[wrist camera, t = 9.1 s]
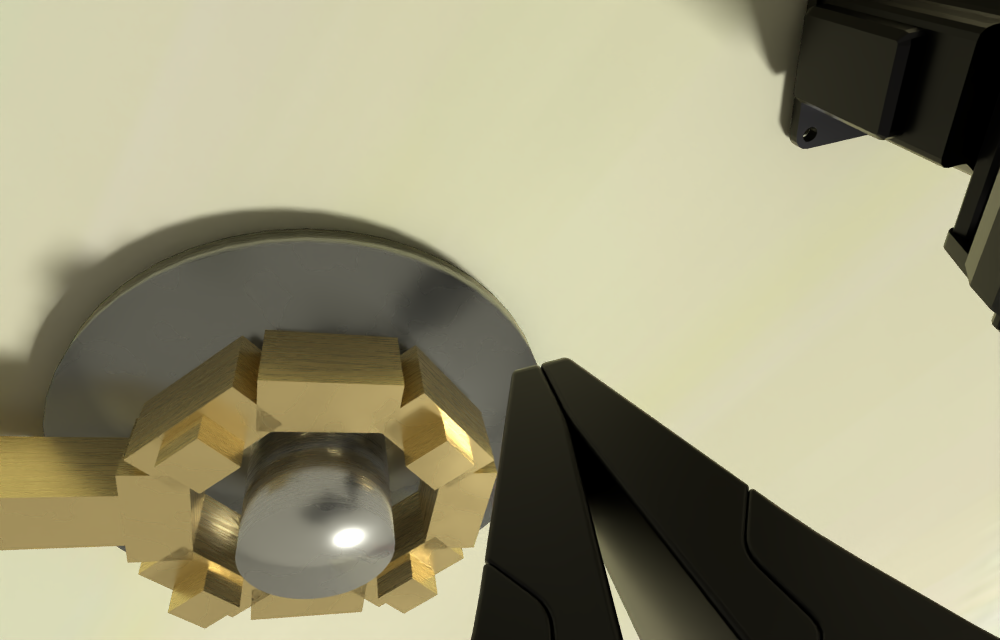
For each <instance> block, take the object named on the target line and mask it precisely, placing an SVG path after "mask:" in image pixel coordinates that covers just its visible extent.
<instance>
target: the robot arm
mask: <svg viewBox="0 0 1000 640" xmlns="http://www.w3.org/2000/svg"><path fill="white" fill-rule="evenodd" d="M794 96H795V99H794V106H793V113H792V120H791V127H790V140H791V142H792V143H793V144H795V145H797V146H799V147H800V148H802V149H808V148H813V147H817V146H821V145H825V144H830V143H834V142H838V141H843V140H847V139H851V138H855V137H860V136H864V135H870V136H872V137H875V138H877V139H879V140H887V141H889V142H891V143H893V144H895V145H897V146H899V147H902V148H904V149H906V150H908V151H910V152H912V153H914V154H916V155H918V156H920V157H923V158H925V159H927V160H929V161H931V162H933V163H935V164H937V165H939V166H942V167H944V168H950V167H954V168H956V169H958V170H960V171H962V172H965V173H967V174H969V175H971V179H970V182H969V185H968V188H967V191H966V194H965V197H964V199H963V202H962V205H961V208H960V211H959V214H958V217H957V220H956V223H955V226H954V228H951V229H950V230H949V231H948V234H947V237H946V240H945V243H944V249H945V250H946V251H947V253H948V254H949V255H950V256H951V258H952V259H953V260H954V261H955V263H956V264H957V265H958V266H959V268H960V269H961V270H962V271H963V273H964V274H965V275H966V276H967V278H968V280H969V284H970V286H971V287H972V289H973V290H974V291H975V292H976V293H977V294H978V296H979V297H980V298H981V299H982V300H983V301H984V302H985V304H986V305H987V306H988V307H989V308H990V309H991V310H992V311H993V312H995V313H994V316H993V318H992V325H993V326H994V327H995V328H996V329H997V330H998V331H999V332H1000V0H808V7H807V13H806V15H805V18H804V25H803V32H802V39H801V46H800V53H799V60H798V67H797V74H796V82H795V89H794ZM808 128H810V130H809V133H808V134H807V135H806V136H805V137H803V135H804V132H805V131H806V130H807V129H808ZM485 563H486V565H484V567H483V574H482V581H481V588H480V594H479V600H478V605H477V611H476V616H475V622H474V627H473V633H472V637H471V640H623V637H622V633H621V629H620V625H619V622H618V618H617V614H616V610H615V606H614V602H613V598H612V594H611V590H610V586H609V582H608V578H607V574H606V570H605V566H606V568H607V571H608V573H609V575H610V577H611V579H612V581H613V583H614V585H615V588H616V590H617V592H618V594H619V596H620V598H621V600H622V602H623V605H624V607H625V609H626V611H627V613H628V615H629V617H630V619H631V622H632V624H633V626H634V628H635V630H636V632H637V634H638V636H639V639H640V640H1000V638H998V637H996V636H994V635H992V634H991V633H989V632H987V631H985V630H983V629H981V628H980V627H978V626H976V625H974V624H972V623H971V622H969V621H967V620H965V619H964V618H962V617H960V616H958V615H957V614H955V613H953V612H952V611H950V610H948V609H946V608H945V607H943V606H941V605H939V604H938V603H936V602H934V601H933V600H931V599H929V598H927V597H926V596H924V595H922V594H920V593H919V592H917V591H915V590H914V589H912V588H910V587H908V586H907V585H905V584H903V583H901V582H900V581H898V580H896V579H894V578H893V577H891V576H889V575H888V574H886V573H884V572H882V571H881V570H879V569H877V568H875V567H874V566H872V565H870V564H869V563H867V562H865V561H863V560H862V559H860V558H858V557H857V556H855V555H853V554H852V553H850V552H848V551H847V550H845V549H844V548H842V547H840V546H839V545H837V544H835V543H834V542H832V541H830V540H829V539H827V538H825V537H824V536H822V535H820V534H819V533H817V532H816V531H814V530H813V529H811V528H810V527H808V526H807V525H805V524H804V523H802V522H801V521H799V520H798V519H796V518H795V517H793V516H792V515H790V514H789V513H787V512H786V511H784V510H783V509H781V508H780V507H778V506H777V505H776V504H774V503H773V502H771V501H770V500H768V499H767V498H766V497H764V496H763V495H761V494H760V493H759V492H757V491H756V490H754V489H751V490H749V486H748V485H747V484H746V483H744V482H743V481H741V480H740V479H739V478H737V477H736V476H734V475H733V474H731V473H730V472H729V471H727V470H726V469H724V468H723V467H722V466H720V465H719V464H717V463H716V462H715V461H713V460H712V459H710V458H709V457H708V456H706V455H705V454H703V453H702V452H700V451H699V450H698V449H696V448H695V447H693V446H692V445H691V444H689V443H688V442H686V441H685V440H684V439H682V438H681V437H679V436H678V435H676V434H675V433H674V432H672V431H671V430H669V429H668V428H667V427H665V426H664V425H662V424H661V423H660V422H658V421H657V420H655V419H654V418H653V417H651V416H650V415H648V414H647V413H645V412H644V411H643V410H641V409H640V408H638V407H637V406H636V405H634V404H633V403H631V402H630V401H629V400H627V399H626V398H624V397H623V396H621V395H620V394H619V393H617V392H616V391H614V390H613V389H612V388H610V387H609V386H607V385H606V384H605V383H603V382H602V381H600V380H599V379H598V378H596V377H595V376H593V375H592V374H590V373H589V372H588V371H586V370H585V369H583V368H582V367H581V366H579V365H578V364H576V363H575V362H574V361H572V360H571V359H569V358H561V359H557V360H553V361H549V362H545V363H543V364H542V366H541V368H540V367H539V366H537V365H533V366H530V367H526V368H522V369H518V370H515V371H514V372H513V373H512V376H511V383H510V390H509V397H508V404H507V411H506V418H505V425H504V432H503V439H502V445H501V452H500V459H499V466H498V473H497V480H496V487H495V494H494V501H493V508H492V515H491V521H490V528H489V535H488V542H487V549H486V556H485ZM604 564H605V566H604Z"/></svg>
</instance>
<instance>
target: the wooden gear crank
mask: <svg viewBox="0 0 1000 640" xmlns="http://www.w3.org/2000/svg"><path fill="white" fill-rule="evenodd" d="M270 432H338V433H382V434H384V435H385V436H386V437H387V438H388V439H389V440H391V441H392V442H393V443H394V444H395V445H397V446H398V447H399V448H400V449H401V450H403V451H404V457H405V465H406V467H407V468H408V469H409V470H411V471H412V472H413V473H414V474H415V475H417V476H418V477H419V478H420V479H421V480H420V484H419V488H418V491H416V492H415V493H413V494H412V495H410V496H408V497H407V498H405V499H403V500H402V501H400V502H398V503H397V504H395V505H393V506H392V515H393V526H394V537H395V550H394V554H393V557H392V559H391V561H390V562H389V564H388V565H387V566H386V568H385V569H384V570H383V571H382V572H381V573H380V574H379V575H378V576H376V577H375V578H374V579H372V580H371V581H369V582H368V583H366V584H364V585H362V586H360V587H358V588H356V589H354V590H351V591H349V592H346V593H342V594H339V595H335V596H331V597H325V598H316V599H291V598H284V597H279V596H275V595H271V594H268V593H265V592H263V591H261V590H259V589H257V588H255V587H254V586H252V585H251V584H249V583H248V582H247V581H246V580H245V579H244V578H243V577H242V576H241V574H240V573H239V571H238V569H237V566H236V561H235V555H236V548H237V541H238V534H239V527H240V520H241V515H240V514H239V513H237V512H235V511H233V510H232V509H230V508H228V507H227V506H225V505H223V504H222V503H220V502H218V501H216V500H215V499H213V498H211V497H210V496H208V495H206V494H205V490H206V489H208V488H209V487H211V486H213V485H214V484H216V483H217V482H219V481H220V480H222V479H223V478H225V477H226V476H228V475H230V474H231V473H233V472H234V471H236V470H237V469H239V468H240V467H241V464H242V457H243V451H244V449H245V448H247V447H249V446H250V445H252V444H253V443H255V442H256V441H258V440H259V439H261V438H262V437H264V436H265V435H267V434H268V433H270ZM496 476H497V470H496V466H495V463H494V457H493V453H492V450H491V446H490V443H489V439H488V435H487V432H486V428H485V424H484V421H483V417H482V413H481V411H480V410H479V409H478V408H477V407H476V406H475V405H474V404H473V403H472V402H471V401H470V400H469V399H468V398H467V397H466V396H465V395H464V394H463V393H462V392H461V391H460V390H459V389H458V387H457V386H456V385H455V384H454V383H453V382H452V381H451V380H450V379H449V378H448V377H447V376H446V375H445V374H444V373H443V372H442V371H441V370H440V369H439V368H438V367H437V366H436V365H435V364H434V363H433V362H432V361H431V360H430V359H429V358H428V357H427V356H426V355H425V354H424V353H423V352H422V351H421V350H420V349H419V348H418V347H417V346H416V345H415V346H414V347H412V348H410V349H409V350H407V351H406V352H404V353H403V354H401V355H400V351H399V344H398V337H381V336H364V335H347V334H330V333H313V332H296V331H280V330H265V334H264V340H263V347H262V351H261V350H260V349H259V348H258V347H256V346H255V345H254V344H253V343H252V342H250V341H249V340H248V339H247V338H245V337H244V336H243V335H242V336H241V337H239V338H238V339H236V340H235V341H233V342H232V343H231V344H229V345H228V346H226V347H225V348H223V349H222V350H220V351H219V352H218V353H216V354H215V355H213V356H212V357H210V358H209V359H207V360H206V361H204V362H203V363H202V364H200V365H199V366H197V367H196V368H194V369H193V370H191V371H190V372H189V373H187V374H186V375H184V376H183V377H181V378H180V379H178V380H177V381H175V382H174V383H173V384H171V385H170V386H168V387H167V388H165V389H164V390H162V391H161V392H160V393H158V394H157V395H155V396H154V397H152V398H151V399H149V400H148V401H146V402H145V403H144V405H143V407H142V410H141V413H140V416H139V418H136V420H135V423H134V426H133V429H132V431H131V434H130V437H129V438H121V437H15V436H0V550H19V549H46V548H73V547H100V546H125V547H126V554H127V561H128V563H129V562H142V563H141V566H140V570H139V573H138V574H139V575H141V576H143V577H146V578H148V579H150V580H152V581H154V582H157V583H159V584H161V585H163V586H165V587H167V588H170V589H172V590H173V592H172V597H171V601H170V605H169V610H168V613H170V614H172V615H175V616H177V617H179V618H182V619H184V620H186V621H189V622H191V623H193V624H196V625H198V626H200V627H203V628H207V627H208V626H210V625H212V624H213V623H215V622H217V621H218V620H220V619H222V618H223V617H225V616H227V615H229V616H231V617H234V616H235V615H237V614H239V613H240V612H242V611H244V610H245V609H247V608H249V607H250V606H251V620H256V619H269V618H283V617H297V616H311V615H324V614H338V613H352V612H362V607H363V602H364V599H366V600H368V601H370V602H371V603H373V604H375V605H377V606H378V607H379V606H381V605H383V604H385V603H387V604H388V605H390V606H392V607H394V608H395V609H397V610H399V611H400V612H402V613H406V612H408V611H409V610H411V609H413V608H415V607H416V606H418V605H420V604H422V603H423V602H425V601H427V600H429V599H430V598H432V597H434V596H436V595H437V588H436V581H435V574H437V573H439V572H440V571H442V570H444V569H446V568H447V567H449V566H451V565H453V564H454V563H456V562H458V561H459V560H461V559H463V558H464V557H463V552H462V548H469V547H474V544H475V541H476V538H477V535H478V532H479V529H480V526H481V523H482V520H483V516H484V513H485V510H486V507H487V504H488V501H489V498H490V495H491V492H492V489H493V485H494V482H495V479H496Z"/></svg>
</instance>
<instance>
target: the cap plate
mask: <svg viewBox="0 0 1000 640" xmlns="http://www.w3.org/2000/svg"><path fill="white" fill-rule="evenodd" d="M265 330H280V331H296V332H313V333H330V334H347V335H364V336H381V337H398V344H399V351H400V355H401V354H403V353H404V352H406V351H407V350H409V349H410V348H412V347H414V346H415V345H416V346H417V347H418V348H419V349H420V350H421V351H422V352H423V353H424V354H425V355H426V356H427V357H428V358H429V359H430V360H431V361H432V362H433V363H434V364H435V365H436V366H437V367H438V368H439V369H440V370H441V371H442V372H443V373H444V374H445V375H446V376H447V377H448V378H449V379H450V380H451V381H452V382H453V383H454V384H455V385H456V386H457V387H458V389H459V390H460V391H461V392H462V393H463V394H464V395H465V396H466V397H467V398H468V399H469V400H470V401H471V402H472V403H473V404H474V405H475V406H476V407H477V408H478V409H479V410H480V411H481V413H482V417H483V421H484V424H485V428H486V432H487V435H488V439H489V443H490V446H491V450H492V453H493V457H494V463H495V466H496V470H497V473H498V466H499V459H500V452H501V445H502V439H503V432H504V425H505V418H506V411H507V404H508V397H509V390H510V383H511V376H512V373H513V372H514V371H515V370H518V369H522V368H526V367H530V366H533V365H537V363H536V361H535V359H534V356H533V354H532V352H531V349H530V347H529V345H528V342H527V340H526V337H525V335H524V334H523V332H522V331H521V329H520V328H519V326H518V324H517V323H516V321H515V320H514V318H513V317H512V315H511V314H510V313H509V312H508V311H507V310H506V308H505V307H504V306H503V305H502V304H501V303H500V302H499V301H498V300H497V298H496V297H495V296H494V295H493V294H491V293H490V292H489V291H488V290H487V289H485V288H484V287H483V286H482V285H481V284H479V283H478V282H477V281H476V280H474V279H473V278H472V277H470V276H469V275H467V274H465V273H464V272H462V271H461V270H459V269H457V268H456V267H454V266H452V265H451V264H449V263H448V262H446V261H444V260H441V259H439V258H437V257H435V256H432V255H430V254H428V253H426V252H423V251H421V250H419V249H417V248H414V247H411V246H407V245H404V244H401V243H397V242H394V241H391V240H388V239H384V238H380V237H375V236H369V235H364V234H358V233H353V232H347V231H334V230H318V229H294V230H274V231H264V232H258V233H252V234H246V235H240V236H234V237H229V238H225V239H222V240H218V241H215V242H211V243H208V244H205V245H201V246H198V247H194V248H191V249H189V250H187V251H184V252H182V253H180V254H178V255H175V256H173V257H171V258H168V259H166V260H164V261H161V262H159V263H157V264H155V265H154V266H152V267H151V268H149V269H147V270H146V271H144V272H142V273H141V274H139V275H137V276H136V277H134V278H132V279H131V280H129V281H127V282H126V283H125V284H124V285H123V286H121V287H120V288H119V289H118V290H117V291H115V292H114V293H113V294H112V295H111V296H109V297H108V298H107V299H106V300H105V301H103V302H102V303H101V304H100V305H99V307H98V308H97V309H96V310H95V311H94V312H93V313H92V315H91V316H90V317H89V318H88V319H87V320H86V322H85V323H84V324H83V325H82V326H81V328H80V329H79V331H78V333H77V334H76V336H75V338H74V339H73V341H72V343H71V345H70V346H69V348H68V350H67V351H66V353H65V355H64V357H63V358H62V360H61V362H60V364H59V365H58V367H57V369H56V371H55V374H54V376H53V379H52V382H51V385H50V388H49V391H48V394H47V396H46V403H45V411H44V419H43V430H44V437H121V438H129V437H130V434H131V431H132V429H133V426H134V423H135V420H136V418H139V416H140V413H141V410H142V407H143V405H144V403H145V402H146V401H148V400H149V399H151V398H152V397H154V396H155V395H157V394H158V393H160V392H161V391H162V390H164V389H165V388H167V387H168V386H170V385H171V384H173V383H174V382H175V381H177V380H178V379H180V378H181V377H183V376H184V375H186V374H187V373H189V372H190V371H191V370H193V369H194V368H196V367H197V366H199V365H200V364H202V363H203V362H204V361H206V360H207V359H209V358H210V357H212V356H213V355H215V354H216V353H218V352H219V351H220V350H222V349H223V348H225V347H226V346H228V345H229V344H231V343H232V342H233V341H235V340H236V339H238V338H239V337H241V336H242V335H243V336H244V337H245V338H247V339H248V340H249V341H250V342H252V343H253V344H254V345H255V346H256V347H258V348H259V349H260V350H261V351H262V347H263V340H264V334H265ZM420 480H421V479H420V478H419V477H418V476H417V475H415V474H414V473H413V472H412V471H411V470H409V469H408V468H407V467H406V465H405V457H404V451H403V450H401V449H400V448H399V447H398V446H397V445H395V444H394V443H393V442H392V441H391V440H389V439H388V438H387V437H386V436H385V435H384V434H382V433H338V432H270V433H268V434H267V435H265V436H264V437H262V438H261V439H259V440H258V441H256V442H255V443H253V444H252V445H250V446H249V447H247V448H245V449H244V451H243V457H242V464H241V467H240V468H239V469H237V470H236V471H234V472H233V473H231V474H230V475H228V476H226V477H225V478H223V479H222V480H220V481H219V482H217V483H216V484H214V485H213V486H211V487H209V488H208V489H206V490H205V494H206V495H208V496H210V497H211V498H213V499H215V500H216V501H218V502H220V503H222V504H223V505H225V506H227V507H228V508H230V509H232V510H233V511H235V512H237V513H239V514H240V515H241V520H240V527H239V534H238V541H237V548H236V555H235V561H236V566H237V569H238V571H239V573H240V574H241V576H242V577H243V578H244V579H245V580H246V581H247V582H248V583H249V584H251V585H252V586H254V587H255V588H257V589H259V590H261V591H263V592H265V593H268V594H271V595H275V596H279V597H284V598H291V599H316V598H325V597H331V596H335V595H339V594H342V593H346V592H349V591H351V590H354V589H356V588H358V587H360V586H362V585H364V584H366V583H368V582H369V581H371V580H372V579H374V578H375V577H376V576H378V575H379V574H380V573H381V572H382V571H383V570H384V569H385V568H386V566H387V565H388V564H389V562H390V561H391V559H392V557H393V554H394V550H395V537H394V526H393V515H392V506H393V505H395V504H397V503H398V502H400V501H402V500H403V499H405V498H407V497H408V496H410V495H412V494H413V493H415V492H416V491H418V488H419V484H420ZM496 480H497V476H496V479H495V482H494V485H493V489H492V492H491V495H490V498H489V501H488V504H487V507H486V510H485V513H484V516H483V520H482V523H481V526H480V529H481V528H483V527H484V526H485V525H487V524H488V523H489V522H490V521H491V515H492V508H493V501H494V494H495V487H496ZM480 529H479V530H480ZM117 547H119V548H120V549H122V550H123V551H125V552H126V547H125V546H117Z"/></svg>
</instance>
